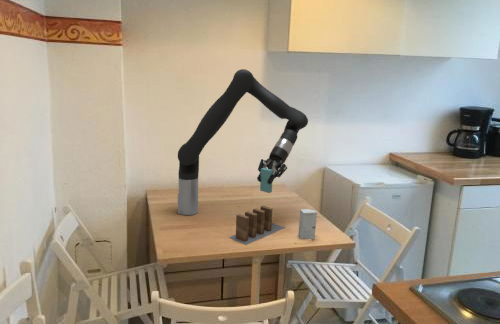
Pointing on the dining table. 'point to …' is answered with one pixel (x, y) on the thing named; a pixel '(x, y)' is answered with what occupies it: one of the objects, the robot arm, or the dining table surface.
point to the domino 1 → (242, 227)
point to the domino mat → (258, 236)
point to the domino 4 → (265, 180)
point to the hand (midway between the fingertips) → (263, 181)
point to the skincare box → (307, 224)
